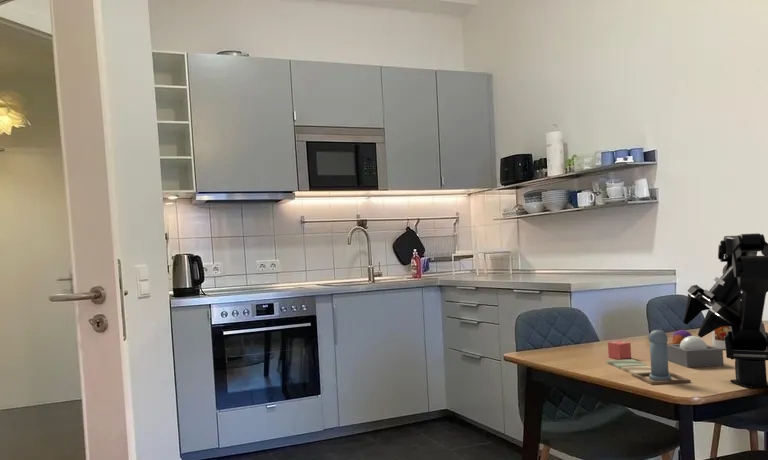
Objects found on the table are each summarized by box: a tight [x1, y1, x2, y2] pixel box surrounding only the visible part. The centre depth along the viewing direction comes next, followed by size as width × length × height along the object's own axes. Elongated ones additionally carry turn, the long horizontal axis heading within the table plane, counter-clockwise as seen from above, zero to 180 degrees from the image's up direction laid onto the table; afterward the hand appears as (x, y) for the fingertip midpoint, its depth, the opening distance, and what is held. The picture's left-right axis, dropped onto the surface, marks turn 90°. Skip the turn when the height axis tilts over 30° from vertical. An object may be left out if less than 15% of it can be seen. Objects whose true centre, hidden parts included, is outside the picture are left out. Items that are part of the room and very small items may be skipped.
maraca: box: [667, 329, 693, 345], centre depth 181 cm, size 6×6×20 cm
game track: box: [605, 358, 691, 386], centre depth 154 cm, size 27×10×1 cm, turn 4°
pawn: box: [648, 329, 672, 381], centre depth 146 cm, size 5×5×12 cm
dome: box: [680, 335, 708, 350], centre depth 163 cm, size 7×7×7 cm
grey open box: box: [667, 343, 725, 368], centre depth 163 cm, size 10×10×4 cm
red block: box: [607, 340, 632, 360], centre depth 174 cm, size 4×4×5 cm
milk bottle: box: [710, 308, 730, 350], centre depth 182 cm, size 8×8×20 cm
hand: (691, 329), depth 148 cm, fingers open, 9 cm apart
